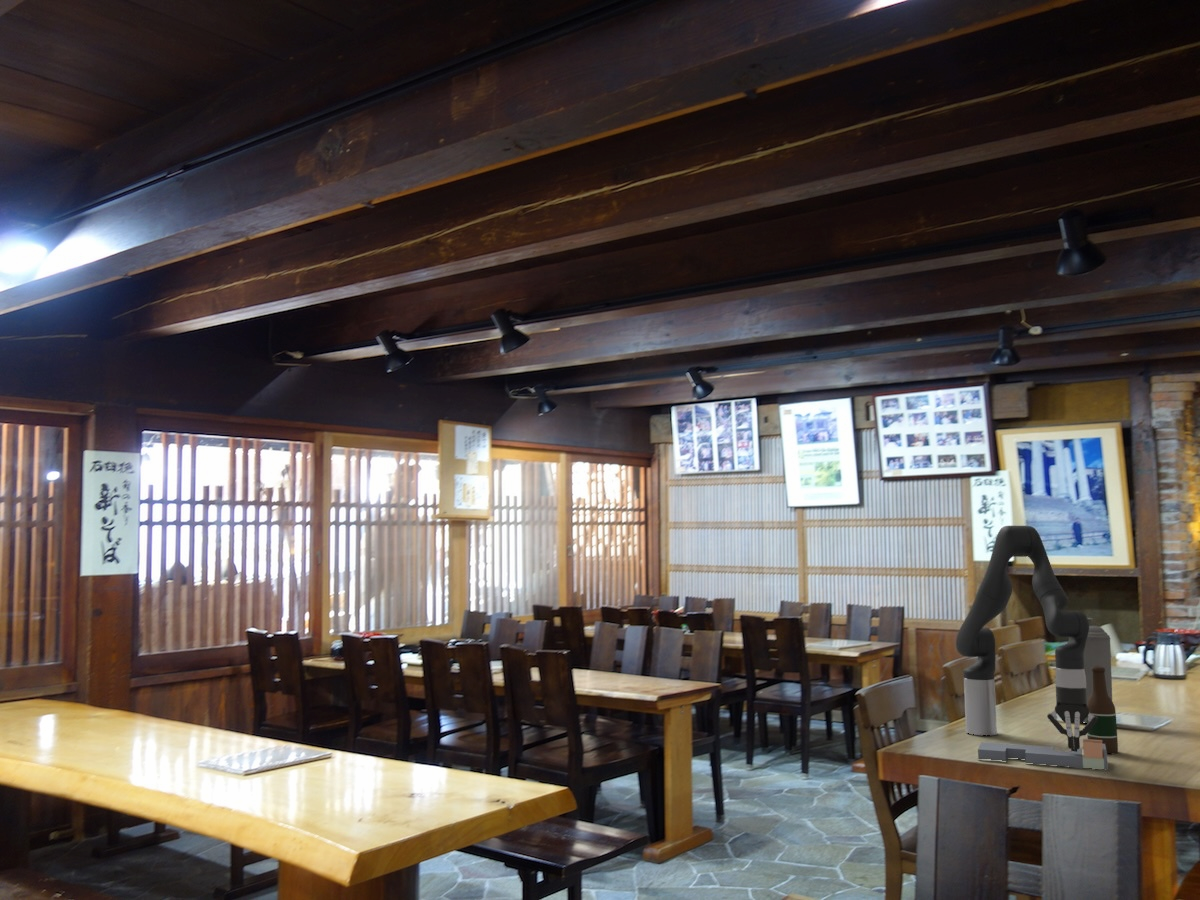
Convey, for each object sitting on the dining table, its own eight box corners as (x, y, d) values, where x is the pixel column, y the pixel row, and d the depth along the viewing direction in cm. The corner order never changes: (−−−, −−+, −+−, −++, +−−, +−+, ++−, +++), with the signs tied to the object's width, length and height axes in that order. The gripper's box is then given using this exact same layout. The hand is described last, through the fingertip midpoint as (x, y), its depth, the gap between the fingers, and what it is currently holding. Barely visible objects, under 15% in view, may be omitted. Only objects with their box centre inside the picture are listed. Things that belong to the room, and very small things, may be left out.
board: (981, 752, 281) (981, 735, 281) (1106, 761, 267) (1105, 743, 268) (978, 760, 270) (977, 742, 271) (1107, 770, 257) (1106, 751, 257)
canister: (1082, 718, 338) (1076, 616, 342) (1122, 723, 329) (1115, 617, 333) (1067, 723, 330) (1061, 618, 334) (1107, 727, 321) (1100, 619, 324)
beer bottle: (1124, 753, 278) (1119, 667, 281) (1100, 754, 277) (1094, 668, 280) (1106, 748, 286) (1101, 665, 289) (1082, 749, 285) (1077, 665, 287)
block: (1084, 754, 263) (1083, 738, 263) (1103, 755, 261) (1102, 740, 261) (1083, 757, 259) (1082, 741, 260) (1102, 758, 257) (1101, 743, 257)
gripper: (1097, 685, 266) (1101, 750, 264) (1044, 682, 271) (1047, 746, 269) (1098, 688, 259) (1102, 755, 257) (1043, 685, 265) (1046, 751, 263)
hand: (1074, 750), depth 263 cm, fingers closed
